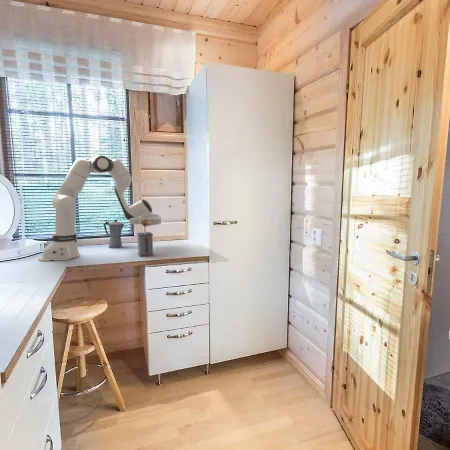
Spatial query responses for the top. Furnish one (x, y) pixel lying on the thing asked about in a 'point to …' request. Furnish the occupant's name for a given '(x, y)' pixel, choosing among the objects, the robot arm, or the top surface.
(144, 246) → the press
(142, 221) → the plunger
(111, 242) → the moka pot
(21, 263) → the top surface
